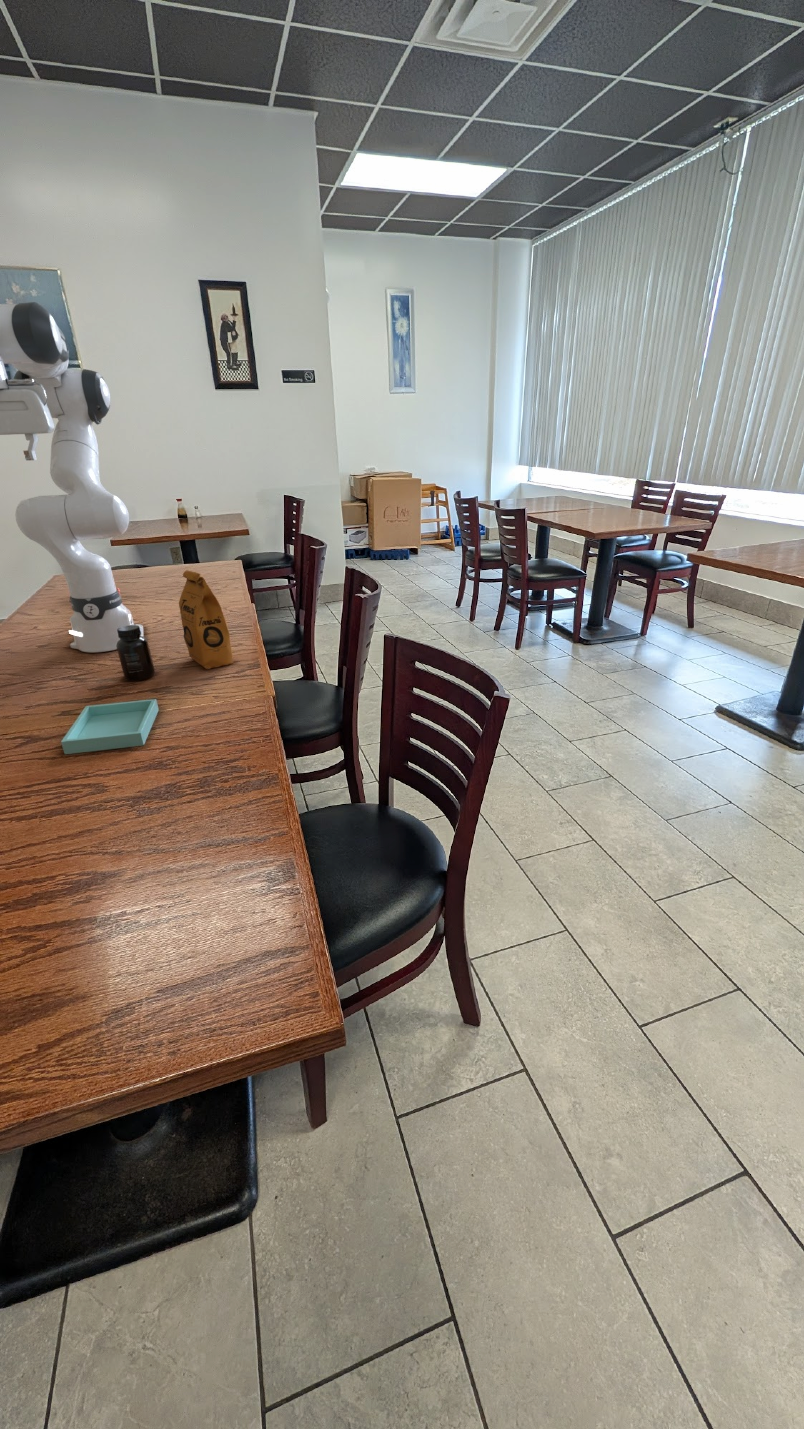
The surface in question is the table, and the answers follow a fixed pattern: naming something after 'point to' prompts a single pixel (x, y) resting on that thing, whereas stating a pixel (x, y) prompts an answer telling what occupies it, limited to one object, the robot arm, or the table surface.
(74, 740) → the serving tray
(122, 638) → the supplement bottle
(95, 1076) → the table surface
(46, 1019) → the table surface
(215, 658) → the coffee package
